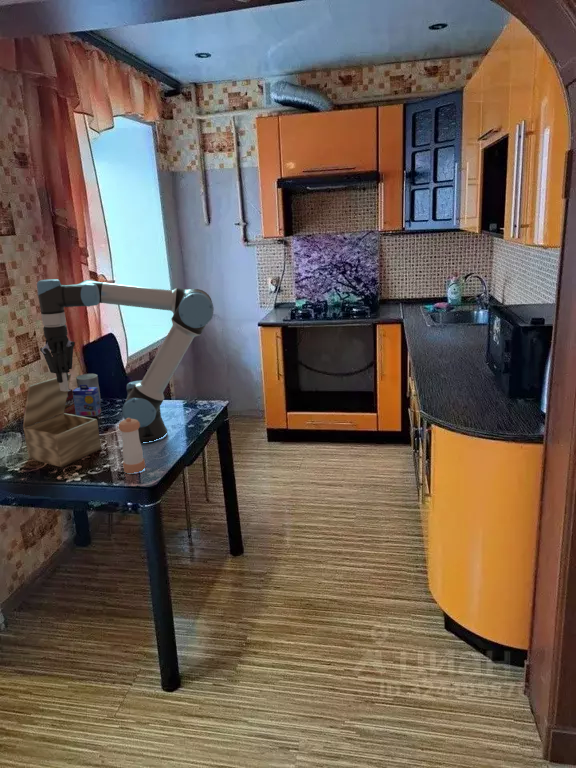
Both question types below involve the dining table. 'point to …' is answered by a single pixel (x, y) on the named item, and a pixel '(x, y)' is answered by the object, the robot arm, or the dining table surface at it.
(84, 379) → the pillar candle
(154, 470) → the dining table surface
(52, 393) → the lid flap
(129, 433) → the salt shaker
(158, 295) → the robot arm
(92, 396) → the ink cartridge box
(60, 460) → the wooden box
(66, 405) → the supplement box
